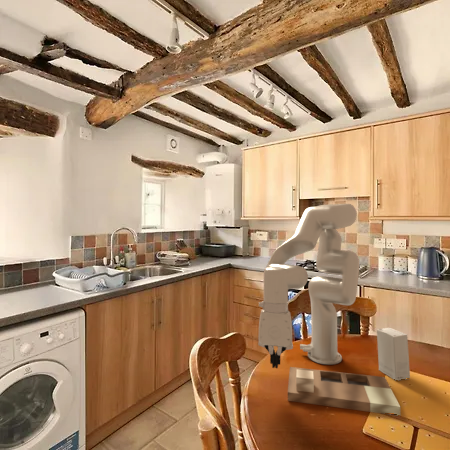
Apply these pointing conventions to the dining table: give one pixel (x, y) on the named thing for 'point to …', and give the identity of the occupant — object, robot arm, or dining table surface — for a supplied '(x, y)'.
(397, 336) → the skincare box
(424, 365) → the dining table surface
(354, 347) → the dining table surface
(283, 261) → the robot arm
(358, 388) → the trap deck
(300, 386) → the maple block
